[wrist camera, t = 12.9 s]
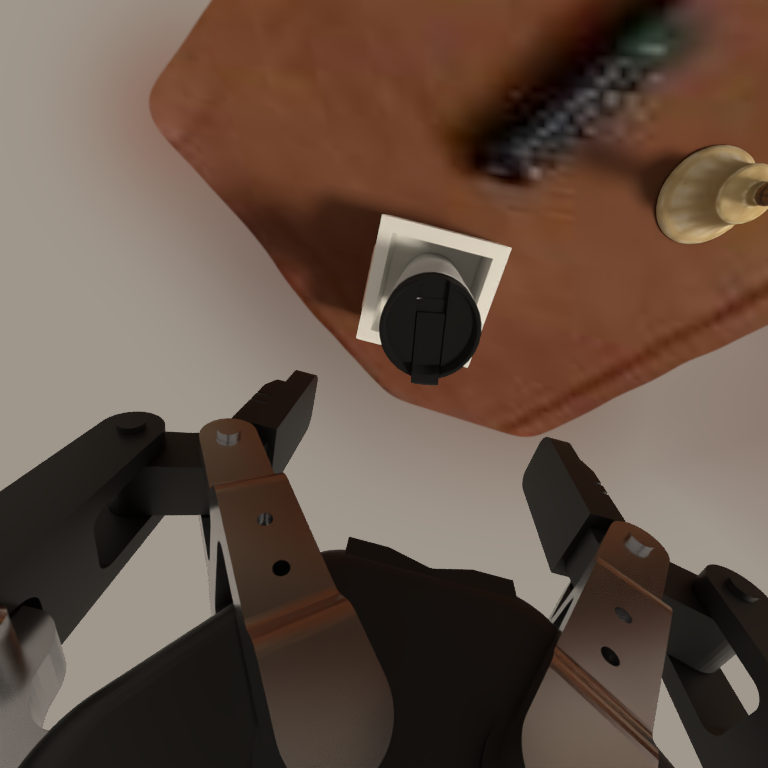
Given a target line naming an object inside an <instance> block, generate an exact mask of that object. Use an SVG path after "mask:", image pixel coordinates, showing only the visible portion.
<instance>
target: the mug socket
mask: <svg viewBox="0 0 768 768" xmlns="http://www.w3.org/2000/svg"><path fill="white" fill-rule="evenodd" d="M511 249H512V248H511V247H508V246H505V245H502V244H499V243H497V242H493V241H489V240H485V239H481V238H478V237H474V236H470V235H466V234H462V233H458V232H455V231H451V230H447V229H443V228H439V227H435V226H432V225H428V224H424V223H420V222H416V221H412V220H408V219H405V218H401V217H397V216H393V215H386V214H382V217H381V222H380V227H379V231H378V236H377V241H376V244H375V245H374V249H373V254H372V259H371V263H370V268H369V273H368V278H367V283H366V287H365V292H364V297H363V302H362V307H361V308H362V313H361V317H360V322H359V327H358V332H357V336H356V338H357V339H360V340H364V341H368V342H372V343H376V344H379V345H381V340H380V336H379V323H380V317H381V314H382V311H383V308H384V306H385V304H386V302H387V299H388V297H389V295H390V293H391V292H392V290H393V288H394V287H395V285H396V283H397V281H398V280H399V278H400V276H401V274H402V273H403V271H404V269H405V267H406V266H407V264H408V263H409V262H410V261H411V260H413V259H414V258H415V257H417V256H419V255H421V254H425V253H436V254H440V255H443V256H445V257H446V258H448V259H449V260H450V261H451V262H452V263H453V265H454V266H455V268H456V269H457V271H458V273H459V274H460V276H461V278H462V279H463V281H464V283H465V284H466V286H467V288H468V289H469V291H470V292H471V294H472V296H473V298H474V301H475V303H476V304H477V307H478V310H479V312H480V317H481V323H482V327H481V331H482V328H483V325H484V322H485V320H486V317H487V314H488V311H489V309H490V306H491V303H492V301H493V298H494V295H495V292H496V290H497V287H498V284H499V282H500V279H501V276H502V273H503V271H504V268H505V265H506V262H507V260H508V257H509V254H510V252H511ZM471 358H472V357H471ZM470 361H471V359H470V360H469V361H468V362H467V363H466V364H465V365H464V366H463V367H467V368H468V366H469V363H470Z"/></svg>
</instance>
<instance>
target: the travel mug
mask: <svg viewBox="0 0 768 768" xmlns="http://www.w3.org/2000/svg"><path fill="white" fill-rule="evenodd" d="M481 327H482V323H481V317H480V312H479V310H478V307H477V304H476V303H475V301H474V298H473V296H472V294H471V292H470V291H469V289H468V288H467V286H466V284H465V283H464V281H463V279H462V278H461V276H460V274H459V273H458V271H457V269H456V268H455V266H454V265H453V263H452V262H451V261H450V260H449V259H448V258H446V257H445V256H443V255H440V254H436V253H425V254H421V255H419V256H417V257H415V258H414V259H413V260H411V261H410V262H409V263H408V264H407V266H406V267H405V269H404V271H403V273H402V274H401V276H400V278H399V280H398V281H397V283H396V285H395V287H394V288H393V290H392V292H391V293H390V295H389V297H388V299H387V302H386V304H385V306H384V308H383V311H382V314H381V317H380V323H379V336H380V340H381V345H382V347H383V349H384V352H385V354H386V355H387V357H388V358H389V360H390V361H391V362H392V363H393V364H394V365H395V366H396V367H397V368H398V369H400V370H401V371H403V372H404V373H406V374H408V375H410V376H411V383H415V384H423V385H438V378H441V377H445V376H448V375H450V374H453V373H454V372H456V371H458V370H459V369H461V368H462V367H463V366H464V365H465V364H466V363H467V362H468V361H469V360H470V359H471V357H472V356H473V354H474V353H475V351H476V349H477V347H478V344H479V341H480V337H481Z"/></svg>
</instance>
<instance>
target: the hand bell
mask: <svg viewBox="0 0 768 768" xmlns="http://www.w3.org/2000/svg"><path fill="white" fill-rule="evenodd" d="M767 209H768V165H767V164H763V163H755V161H754V160H753V158H752V157H751V156H750V155H749V154H748V153H747V152H745V151H744V150H742V149H740V148H738V147H735V146H730V145H717V146H712V147H708V148H705V149H703V150H700V151H698V152H696V153H694V154H692V155H691V156H689V157H688V158H687V159H685V160H684V161H683V162H681V163H680V164H679V165H678V166H677V167H676V168H675V169H674V170H673V172H672V173H671V174H670V175H669V177H668V178H667V180H666V181H665V183H664V185H663V187H662V189H661V191H660V194H659V196H658V200H657V206H656V216H657V221H658V224H659V227H660V229H661V230H662V232H663V233H664V234H665V235H666V236H667V237H669V238H670V239H672V240H674V241H676V242H679V243H683V244H696V243H702V242H706V241H709V240H711V239H714V238H716V237H718V236H720V235H721V234H723V233H725V232H726V231H728V230H729V229H730V228H732V227H733V226H734V225H735V224H742V223H745V222H748V221H751V220H753V219H755V218H757V217H758V216H760V215H761V214H762V213H764V212H765V211H766V210H767Z"/></svg>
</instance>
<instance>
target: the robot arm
mask: <svg viewBox="0 0 768 768" xmlns="http://www.w3.org/2000/svg"><path fill="white" fill-rule="evenodd" d="M317 380H318V377H317V375H313V374H309V373H305V372H302V371H298V370H296V371H295V372H294V373H293V374H292V375H291V376H290V377H289V379H288V380H287V381H286V382H285V381H281V380H275V381H273V382H270V383H267V384H265V385H264V386H263V387H262V388H261V389H260V390H259V391H258V393H256V394H255V395H254V396H253V397H252V399H251V400H249V401H248V402H247V403H246V404H245V405H244V406H243V407H242V408H241V409H240V410H239V411H238V412H237V413H236V414H235V415H234V416H233V417H232V418H227V419H219V420H215V421H212V422H210V423H208V424H206V425H205V426H204V427H203V428H202V429H201V430H200V433H181V432H165V422H164V420H163V419H162V418H161V417H159V416H157V415H154V414H152V413H146V412H127V413H122V414H117V415H114V416H112V417H109V418H107V419H105V420H103V421H102V422H100V423H99V424H97V425H96V426H95V427H93V428H92V429H90V430H89V431H87V432H86V433H84V434H83V435H81V436H80V437H79V438H77V439H76V440H74V441H73V442H71V443H70V444H68V445H67V446H66V447H64V448H63V449H61V450H60V451H58V452H57V453H55V454H54V455H53V456H51V457H50V458H48V459H47V460H45V461H44V462H42V463H41V464H39V465H38V466H37V467H35V468H34V469H32V470H31V471H29V472H28V473H26V474H25V475H23V476H22V477H21V478H19V479H18V480H16V481H15V482H13V483H12V484H11V485H9V486H8V487H6V488H5V489H3V490H2V491H0V768H674V766H673V765H672V764H671V763H670V762H669V760H668V759H667V758H666V757H665V756H664V755H663V753H662V752H661V751H660V750H659V749H658V747H657V746H656V745H655V743H654V741H653V727H654V721H655V715H656V709H657V703H658V697H659V691H660V685H661V679H663V682H664V684H665V686H666V688H667V690H668V692H669V695H670V697H671V699H672V701H673V703H674V706H675V708H676V710H677V712H678V714H679V717H680V719H681V721H682V723H683V725H684V727H685V730H686V732H687V734H688V736H689V738H690V741H691V743H692V745H693V747H694V749H695V751H696V754H697V756H698V758H699V760H700V762H701V765H702V767H703V768H768V597H767V596H766V595H765V594H764V593H763V592H762V591H761V590H759V589H758V588H757V587H756V586H755V585H753V584H752V583H751V582H749V581H748V580H747V579H745V578H744V577H742V576H741V575H739V574H737V573H735V572H734V571H732V570H729V569H727V568H725V567H722V566H719V565H708V566H707V567H706V568H705V569H704V570H703V571H702V572H701V573H700V574H699V575H696V574H694V573H692V572H690V571H688V570H686V569H684V568H681V567H679V566H677V565H675V564H673V563H671V562H670V558H669V555H668V553H667V552H666V550H665V548H664V547H663V546H662V545H661V544H660V543H659V542H658V541H657V540H656V539H655V538H654V537H653V536H651V535H650V534H649V533H647V532H646V531H644V530H643V529H641V528H639V527H637V526H635V525H632V524H630V523H627V522H625V520H624V518H623V517H622V515H621V514H620V512H619V511H618V509H617V508H616V506H615V504H614V503H613V501H612V500H611V498H610V497H609V495H607V492H606V490H605V489H604V487H603V486H601V483H600V481H599V479H598V478H597V476H596V475H595V473H594V472H593V471H592V470H591V469H590V468H589V467H588V466H587V465H586V464H584V463H583V462H582V461H581V460H580V459H579V457H578V456H577V454H576V452H575V451H574V449H573V448H572V446H571V445H570V443H568V442H564V441H560V440H557V439H553V438H549V437H545V438H543V440H542V441H541V442H540V444H539V446H538V448H537V450H536V452H535V453H534V455H533V457H532V459H531V461H530V463H529V465H528V467H527V469H526V471H525V473H524V476H523V484H522V485H523V491H524V494H525V496H526V500H527V503H528V506H529V509H530V511H531V514H532V517H533V520H534V523H535V526H536V529H537V532H538V535H539V538H540V541H541V544H542V547H543V550H544V552H545V556H546V558H547V561H548V564H549V567H550V570H551V572H552V573H556V574H559V575H564V576H567V577H569V578H570V580H571V581H570V583H569V584H568V585H567V587H566V588H565V590H564V592H563V593H562V595H561V597H560V599H559V601H558V603H557V604H556V606H555V608H554V610H553V612H552V614H551V615H550V617H549V619H547V618H546V617H545V616H544V615H543V614H542V613H541V612H539V611H538V610H537V609H535V608H534V607H533V606H531V605H530V604H528V603H527V602H525V601H524V600H522V599H520V598H518V597H517V596H516V592H515V587H514V583H513V580H509V579H505V578H501V577H498V576H494V575H490V574H487V573H483V572H479V571H476V570H463V569H432V568H429V567H427V566H425V565H423V564H421V563H419V562H417V561H415V560H413V559H411V558H409V557H407V556H405V555H403V554H401V553H399V552H397V551H395V550H393V549H391V548H389V547H386V546H382V545H378V544H375V543H371V542H367V541H363V540H359V539H356V538H352V537H349V539H348V544H347V547H346V550H329V551H324V552H320V550H319V548H318V546H317V544H316V541H315V539H314V537H313V535H312V532H311V530H310V528H309V525H308V523H307V521H306V519H305V516H304V514H303V512H302V510H301V507H300V505H299V503H298V501H297V498H296V496H295V494H294V492H293V489H292V487H291V485H290V483H289V480H288V478H287V476H286V475H285V474H284V473H283V471H284V469H285V467H286V465H287V464H288V462H289V460H290V459H291V457H292V455H293V453H294V452H295V450H296V448H297V446H298V445H299V443H300V441H301V440H302V437H303V436H304V434H305V433H306V431H307V429H308V426H309V423H310V420H311V416H312V410H313V405H314V399H315V393H316V387H317ZM165 515H199V522H200V528H201V533H202V540H203V547H204V553H205V558H206V565H207V571H208V581H209V597H210V607H211V614H212V617H210V618H209V619H207V620H206V621H204V622H203V623H201V624H200V625H198V626H197V627H195V628H193V629H192V630H190V631H189V632H187V633H186V634H184V635H183V636H181V637H180V638H178V639H177V640H175V641H174V642H172V643H170V644H169V645H167V646H166V647H164V648H163V649H161V650H160V651H158V652H157V653H155V654H154V655H152V656H150V657H149V658H147V659H146V660H144V661H143V662H141V663H140V664H138V665H137V666H135V667H134V668H132V669H131V670H129V671H127V672H126V673H125V674H123V675H122V676H120V677H118V678H117V679H115V680H114V681H112V682H110V683H109V684H107V685H106V686H105V687H103V688H101V689H100V690H98V691H97V692H95V693H94V694H92V695H91V696H90V697H88V698H86V699H85V700H84V701H82V702H81V703H80V704H78V705H77V706H76V707H75V708H73V709H72V710H71V711H70V712H69V713H67V714H66V715H65V716H64V717H63V718H62V719H61V720H60V721H59V722H58V723H57V724H56V725H55V726H53V727H52V728H51V730H49V731H48V730H45V729H43V728H42V727H43V723H44V720H45V716H46V714H47V711H48V709H49V707H50V705H51V703H52V702H53V700H54V698H55V696H56V695H57V693H58V691H59V689H60V688H61V685H62V683H63V680H64V677H65V673H66V661H65V657H64V653H63V650H62V646H61V645H62V644H63V642H64V641H65V640H66V639H67V637H68V636H69V635H70V634H71V632H72V631H73V630H74V628H75V627H76V626H77V625H78V624H79V622H80V621H81V620H82V619H83V617H84V616H85V615H86V614H87V612H88V611H89V609H90V608H91V607H92V606H93V605H94V603H95V602H96V601H97V600H98V598H99V597H100V596H101V595H102V593H103V592H104V591H105V590H106V588H107V587H108V586H109V585H110V583H111V582H112V581H113V580H114V578H115V577H116V576H117V575H118V573H119V572H120V571H121V569H122V568H123V567H124V566H125V564H126V563H127V562H128V561H129V560H130V558H131V557H132V556H133V554H134V553H135V552H136V551H137V549H138V548H139V547H140V546H141V544H142V543H143V542H144V541H145V539H146V538H147V537H148V536H149V534H150V533H151V532H152V531H153V529H154V528H155V527H156V526H157V524H158V523H159V522H160V521H161V519H162V518H163V517H164V516H165ZM735 654H736V655H737V656H738V658H739V659H740V661H741V662H742V664H743V665H744V667H745V669H746V670H747V671H748V673H749V675H750V676H751V678H752V679H753V681H754V682H755V684H756V686H757V689H758V692H759V700H760V702H759V706H758V708H757V710H756V711H755V712H753V713H752V714H750V715H748V714H747V712H746V710H745V709H744V707H743V705H742V704H741V702H740V700H739V699H738V697H737V695H736V694H735V692H734V690H733V689H732V687H731V685H730V684H729V682H728V680H727V679H726V677H725V675H724V674H723V672H722V670H721V669H720V667H721V666H722V665H723V664H724V663H726V662H727V661H728V660H729V659H731V658H732V657H733V656H734V655H735Z"/></svg>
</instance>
